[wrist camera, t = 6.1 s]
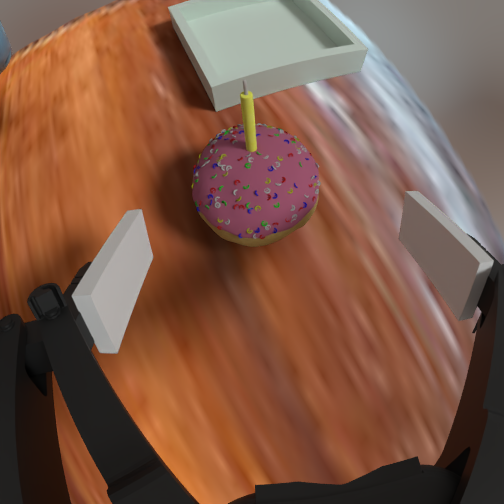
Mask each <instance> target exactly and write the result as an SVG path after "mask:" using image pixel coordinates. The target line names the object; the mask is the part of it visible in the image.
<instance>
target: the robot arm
mask: <svg viewBox="0 0 504 504" xmlns="http://www.w3.org/2000/svg"><path fill="white" fill-rule="evenodd" d="M11 54H12V49H11V45H10V42H9V40H8V37H7V35H6V33H5V31H4V28H3V26H2V24H1V22H0V74H1V73H2V72H3V71H4V69H5V68H6V67H7V65H8V64H9V62H10V59H11ZM399 240H400V241H401V242H402V244H403V245H404V246H405V247H406V249H407V250H408V251H409V253H410V254H411V255H412V256H413V258H414V259H415V260H416V262H417V263H418V264H419V266H420V267H421V268H422V270H423V271H424V272H425V274H426V275H427V276H428V278H429V279H430V281H431V282H432V283H433V285H434V286H435V288H436V289H437V290H438V292H439V293H440V295H441V296H442V297H443V299H444V300H445V302H446V303H447V305H448V306H449V308H450V309H451V311H452V312H453V314H454V315H455V317H456V318H457V320H458V321H461V320H465V319H470V318H472V317H473V315H474V312H475V310H476V308H477V306H478V307H479V309H480V310H481V315H480V317H479V319H478V321H477V323H476V326H475V328H474V330H473V332H472V333H475V331H476V330H477V331H476V336H475V342H474V347H473V352H472V356H471V361H470V365H469V369H468V373H467V378H466V381H465V385H464V389H463V393H462V396H461V400H460V403H459V406H458V410H457V413H456V416H455V419H454V422H453V425H452V428H451V431H450V434H449V436H448V439H447V442H446V445H445V447H444V450H443V452H442V454H441V456H440V458H439V459H438V461H437V462H436V464H435V465H434V466H432V465H420V463H419V459H418V456H417V457H414V458H411V459H407V460H404V461H400V462H397V463H393V464H389V465H386V466H382V467H380V468H378V469H376V470H374V471H372V472H370V473H368V474H366V475H364V476H362V477H360V478H357V479H355V480H353V481H351V482H349V483H346V484H342V485H333V484H318V483H306V482H290V483H279V484H266V485H255V493H253V494H249V495H246V496H243V497H241V498H238V499H236V500H234V501H232V502H230V503H228V504H504V264H502V265H501V264H500V263H499V262H498V261H497V260H496V259H495V258H494V257H493V256H492V255H491V254H490V253H489V252H488V251H486V249H485V248H484V247H483V246H481V244H480V243H479V242H478V241H477V240H476V239H475V238H473V237H472V236H470V235H468V234H466V233H465V232H464V231H463V230H462V229H461V228H460V227H459V226H457V225H456V224H455V223H454V222H453V221H452V220H451V219H450V218H449V217H448V216H446V215H445V214H444V213H443V212H442V211H441V210H440V209H438V208H437V207H436V206H435V205H434V204H433V203H431V202H430V201H429V200H428V199H427V198H425V197H424V196H423V195H422V194H421V193H419V192H418V191H405V198H404V206H403V213H402V220H401V227H400V233H399ZM152 259H153V254H152V250H151V246H150V242H149V238H148V234H147V230H146V226H145V222H144V217H143V213H142V209H138V210H130V211H127V212H126V213H125V215H124V216H123V218H122V219H121V220H120V222H119V223H118V225H117V226H116V228H115V229H114V230H113V232H112V233H111V235H110V236H109V238H108V239H107V241H106V242H105V244H104V245H103V247H102V248H101V250H100V251H99V253H98V254H97V256H96V257H95V259H94V260H93V262H88V263H86V264H85V265H84V266H83V267H82V268H80V269H79V271H78V272H77V274H76V275H75V278H73V280H72V282H71V285H69V286H68V288H67V289H66V291H65V293H64V294H62V292H61V290H60V288H59V286H58V285H57V284H55V283H47V284H44V285H41V286H39V287H38V288H36V289H35V290H34V291H33V292H32V293H31V294H30V295H29V297H28V300H27V303H28V305H29V307H30V309H31V310H32V312H33V314H34V316H35V318H36V320H35V321H31V322H27V323H24V322H23V320H22V319H21V317H20V316H19V315H18V314H11V315H8V316H5V317H3V319H1V320H0V504H71V501H70V497H69V493H68V489H67V484H66V480H65V475H64V470H63V465H62V460H61V454H60V448H59V442H58V435H57V428H56V419H55V410H54V400H53V388H52V371H53V372H54V374H55V377H56V380H57V382H58V385H59V387H60V390H61V392H62V395H63V397H64V400H65V402H66V404H67V407H68V409H69V411H70V414H71V416H72V418H73V420H74V422H75V425H76V427H77V429H78V431H79V433H80V435H81V437H82V439H83V441H84V443H85V445H86V447H87V449H88V451H89V453H90V455H91V457H92V458H93V460H94V462H95V464H96V466H97V467H98V469H99V471H100V473H101V474H102V476H103V478H104V480H105V481H106V483H107V485H108V489H107V494H108V497H109V498H110V500H111V502H112V504H199V503H198V502H197V500H196V499H195V498H194V497H193V496H192V495H191V494H190V493H189V492H188V491H187V489H186V488H185V487H184V486H183V485H182V484H181V482H180V481H179V480H178V479H177V478H176V476H175V475H174V474H173V473H172V472H171V470H170V469H169V468H168V467H167V465H166V464H165V463H164V462H163V460H162V459H161V458H160V456H159V455H158V454H157V452H156V451H155V450H154V448H153V447H152V446H151V444H150V443H149V442H148V440H147V439H146V438H145V436H144V435H143V433H142V432H141V431H140V429H139V428H138V426H137V425H136V423H135V422H134V420H133V419H132V417H131V416H130V414H129V413H128V411H127V410H126V408H125V407H124V405H123V404H122V402H121V401H120V399H119V397H118V396H117V394H116V393H115V391H114V389H113V388H112V386H111V384H110V383H109V381H108V379H107V378H106V376H105V374H104V373H103V371H102V369H101V367H100V366H99V364H98V362H97V360H96V358H95V357H94V355H93V353H92V351H91V349H92V347H93V344H94V343H95V345H96V346H97V348H98V350H99V352H100V353H118V351H119V348H120V345H121V342H122V339H123V336H124V333H125V330H126V327H127V325H128V322H129V319H130V316H131V313H132V311H133V308H134V305H135V303H136V300H137V297H138V295H139V292H140V289H141V287H142V284H143V282H144V279H145V277H146V274H147V272H148V269H149V267H150V264H151V262H152Z"/></svg>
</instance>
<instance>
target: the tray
mask: <svg viewBox="0 0 504 504" xmlns="http://www.w3.org/2000/svg"><path fill="white" fill-rule="evenodd" d="M168 9H169V13H170V17H171V20H172V24H173V28H174V30H175V32H176V34H177V36H178V38H179V39H180V41H181V43H182V45H183V47H184V49H185V51H186V53H187V55H188V57H189V59H190V61H191V63H192V65H193V67H194V69H195V71H196V72H197V74H198V76H199V78H200V80H201V82H202V84H203V86H204V88H205V90H206V92H207V94H208V96H209V98H210V100H211V102H212V104H213V106H214V108H215V110H216V112H217V111H220V110H222V109H225V108H228V107H231V106H234V105H237V104H240V103H241V100H240V94H241V92H243V91H244V89H243V80H246V81H247V89H248V91H250V92H252V94H253V99H255V98H258V97H262V96H265V95H268V94H271V93H275V92H278V91H282V90H285V89H289V88H292V87H296V86H300V85H304V84H308V83H312V82H316V81H320V80H324V79H328V78H332V77H337V76H341V75H346V74H351V73H356V72H360V71H361V68H362V65H363V63H364V60H365V57H366V54H367V51H368V48H367V47H366V46H365V45H364V44H363V43H362V42H361V41H360V40H359V39H358V38H357V37H356V36H355V35H354V34H353V33H352V32H351V31H350V30H349V29H348V28H347V27H346V26H345V25H344V24H343V23H342V22H341V21H340V20H339V19H338V18H337V17H336V16H335V15H334V14H333V13H332V12H331V11H329V10H328V9H327V8H326V7H325V6H324V5H323V4H322V3H321V2H319V1H318V0H190V1H186V2H183V3H180V4H177V5H174V6H171V7H168Z"/></svg>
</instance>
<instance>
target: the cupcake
mask: <svg viewBox="0 0 504 504" xmlns="http://www.w3.org/2000/svg"><path fill="white" fill-rule="evenodd" d="M243 89H244V91H243V92H241V94H240V100H241V109H242V117H243V126H241V125H237V126H238V127H237V126H233V128H234V129H233V128H229V129H228V131H226V130H222V131H221V133H222V134H220V133H219V134H217V135H216V137H215V138H214V139H210V140H209V144H208V145H207V146H206V147H205V149H204V150H203V152H202V154H200V155H199V160H198V162H197V164H196V165H194V167H193V169H194V172H193V184H192V187H191V188H193V192H192V196H193V200H194V203H195V205H196V207H197V211H198V212H199V215H200V216H201V218H202V219H203V220H204V221H205V222H206V223H207V224H208V225H209V226H210V227H211V228H212V230H213V231H214V232H215V233H216V234H217V235H219V236H220V237H221V238H223V239H225V240H227V241H231V242H235V243H238V244H241V245H244V246H249V247H258V246H264V245H268V244H271V243H273V242H276V241H278V240H280V239H282V238H284V237H286V236H287V235H289V234H290V233H292V232H293V231H295V230H296V229H298V228H301V227H302V226H304V225H305V224H306V223H307V221H308V220H309V219H310V217H311V216H312V214H313V213H314V211H315V209H316V206H317V203H318V193H319V185H320V181H319V176H318V167H319V165H318V164H317V163H316V162H315V160H314V159H313V157H312V155H311V153H309V151H308V150H307V149H306V148H305V146H304V145H303V144H302V143H301V142H300V141H299V139H298V138H297V137H296V136H294V137H293V136H292V135H290V134H288V133H287V132H284V131H283V130H282V129H280V128H275V127H271V126H267V125H265V124H260V123H258V124H257V125H255V117H254V104H253V94H252V92H250V91H248V89H247V81H246V80H243ZM259 124H260V125H259ZM262 125H263V126H262ZM239 126H240V127H239ZM223 131H225V132H223ZM210 141H211V142H210Z"/></svg>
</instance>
